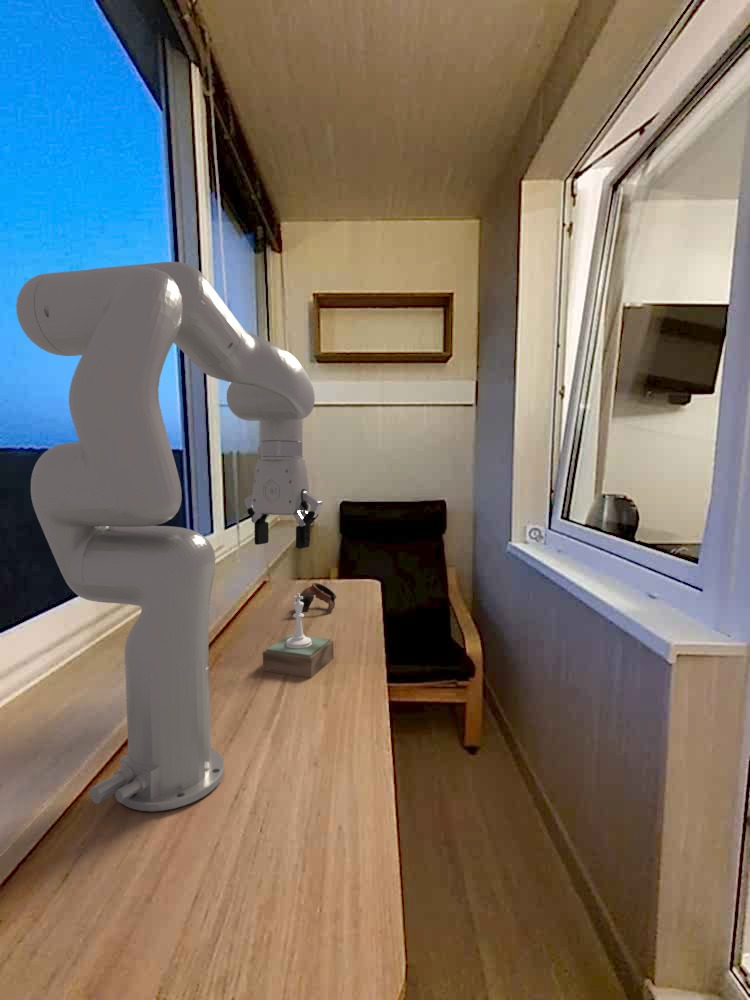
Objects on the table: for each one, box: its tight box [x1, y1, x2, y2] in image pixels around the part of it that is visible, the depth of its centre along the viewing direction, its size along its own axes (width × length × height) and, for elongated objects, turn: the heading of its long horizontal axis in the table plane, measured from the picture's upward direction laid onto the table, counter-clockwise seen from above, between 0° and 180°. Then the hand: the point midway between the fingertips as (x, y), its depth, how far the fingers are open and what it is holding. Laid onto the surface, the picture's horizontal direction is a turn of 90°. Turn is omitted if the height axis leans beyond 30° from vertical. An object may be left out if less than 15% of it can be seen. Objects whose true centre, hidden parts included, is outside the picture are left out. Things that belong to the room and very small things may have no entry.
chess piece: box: [286, 592, 312, 649], centre depth 104 cm, size 5×5×10 cm
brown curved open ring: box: [295, 582, 337, 614], centre depth 139 cm, size 12×10×8 cm
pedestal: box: [262, 633, 335, 678], centre depth 105 cm, size 10×10×4 cm
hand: (281, 545), depth 100 cm, fingers open, 9 cm apart
